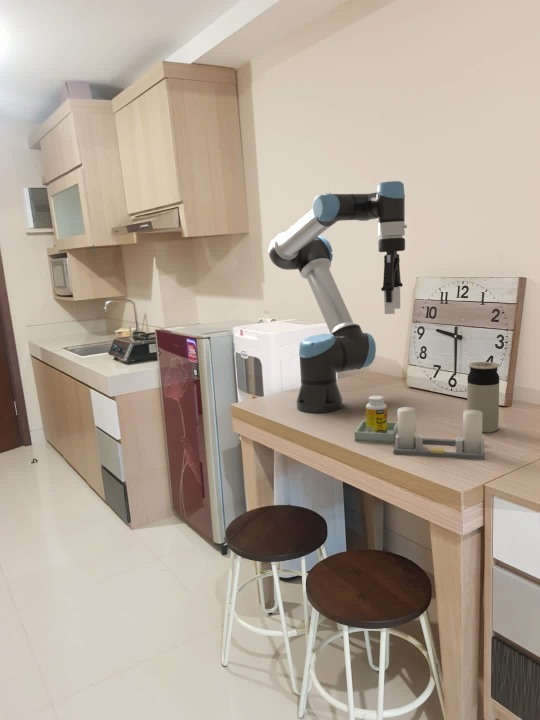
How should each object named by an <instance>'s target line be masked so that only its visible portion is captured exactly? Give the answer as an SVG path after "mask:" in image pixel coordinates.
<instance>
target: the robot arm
mask: <svg viewBox="0 0 540 720" xmlns="http://www.w3.org/2000/svg"><path fill="white" fill-rule="evenodd" d="M405 198H406V195H405V186H404V183H403V182H402V181H399V180H395V181H394V180H393V181H392V180H391V181H383V182H380V183H378V184H377V188H376V192H370V193H330V192H329V193H322V194H318V195H317V196H316V197H314V201H313V202H312V207H311V208H312V209H311V210H310V211H308V213H306V214H305V215H304V216H303V217H302V218H300V219H299V220H298V221H297V222H296V223H294V225H292V226H291V227H290V228H289V229H288V230H286V231H285V232H281V233H278V234H277V236H275V237H274V238H273V239H272V240H271V241H270V244H269V247H268V256H269V259H270V260H271V262H272V263H273V264H274V265H275V266H276V267H278V268H280V269H281V270H288V271H290V270H298V271H299V273H300V276H301V277H302V278H303V279H306V280H307V282H308V284H309V286H310V288H311V291H312V294H313V295H314V297H315V301H316V303H317V305H318V307H319V310H320V312H321V314H322V317H323V319H324V321H325V323H326V327H327V328H328V330H329V333H321V334H316V335H314V334H313V335H311V336H307V337H304V339H302V340H301V341H300V342H299V349H298V350H299V351H298V355H299V366H300V367H299V368H300V371H299V372H300V387H299V391H298V393H297V399H296V408H297V409H298V410H299V411H302V412H306V413H307V412H308V413H329V412H330V413H331V412H334V411H338V410H340V409H341V408H343V404H344V403H343V400H344V399H343V396H342V393H341V391H340V389H339V386H338V382H337V374H339V373H342V372H349V371H355V370H361V369H364V368H367V367H369V366H371V365H372V363H373V362H374V360H375V358H376V352H377V345H376V341H375V339H374V336H373V335H371V334H370V333H368V332H363V330H362V328H361V326H360V325H359V324H357V323H354V321H353V319H352V317H351V314H350V313H349V311H348V308H347V305H346V304H345V301H344V299H343V297H342V294H341V292H340V290H339V288H338V286H337V283H336V281H335V279H334V276H333V274H332V273H331V270H330V268H331V267H332V261H333V257H334V256H333V248H332V245H331V243H330V242H329V240H328V239H327V238H325V237H324V236H322V235H321V234H323V233H324V232H325V231H326V230H327V229H330V227H332V226H333V225H335V224H336V223H338V222H341V221H359V222H360V221H362V222H363V221H366V222H367V221H371V220H375V219H377V237H378V238H379V239H378V241H377V243H378V252H379V253H386V254H385V255H384V257H383V259H384V260H383V262H384V265H383V266H384V267H383V281H382V284H383V285H382V287H381V288H380V290H381V292H383V293H384V294H383V295H384V296H383V297H384V299H383V300H384V303H383V305H384V315H395V313H396V312H395V310H397V309H401V288H402V287H403V285H404V284H403V283H402V281H401V269H400V262H401V261H400V260H401V259H400V254H399V253H398V252H404V251H405V250H406V239H405V233H406V231H405V229H407V228H408V226H407V224H405V223H406V222H405V220H406V218H405V217H406V216H405V215H406V214H405V213H406V212H405V211H406V209H405V204H406V203H405V201H406V200H405Z"/></svg>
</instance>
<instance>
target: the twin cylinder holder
mask: <svg viewBox="0 0 540 720" xmlns="http://www.w3.org/2000/svg"><path fill="white" fill-rule="evenodd" d="M396 410H397V413H396V414H397V422H398V434H396V437H395V441H394V446H395V447H394V448H393V450H392V451H393V455H406V456H421V457H433V458H434V457H435V458H436V457H437V458H449V459H450V458H452V459H464V460H481V461H485V438H483V433H482V412H481V411H479V410H467V409H465V410H463V411H462V437H461V436H460V437H459V436H456V437H455V439H448V438H447V439H446V438H431V437H430V438H429V437H424V435H422V434H416V433H417V430H416V428H417V427H416V419H417V418H416V417H417V416H416V408H414V407H410V406H409V407H408V406H403V407H399V408H397V409H396ZM424 444H430V445H431V444H432V445H434V444H435V445H446V446H447V445H450V446H455V451H446V450H445V448H432V447H431V449H430V450H428V449H427V450H424V449H423V447H424Z"/></svg>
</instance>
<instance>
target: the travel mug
mask: <svg viewBox="0 0 540 720" xmlns="http://www.w3.org/2000/svg"><path fill="white" fill-rule="evenodd" d="M468 367H469V370H470V371H469V373H468V375H467V391H466V392H467V397H466V398H467V401H466V402H467V403H466V405H467V408H466V410H479V411H481V412H482V434H486V433H494V432H496V431H497V430H499V422H500V421H499V411H500V410H499V409H500V375H499V373H498V372H497V371H498V368H499V364H498V363H496V362H491V361H474V362H471V363H468Z"/></svg>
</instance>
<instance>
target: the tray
mask: <svg viewBox="0 0 540 720" xmlns="http://www.w3.org/2000/svg"><path fill="white" fill-rule="evenodd" d="M360 421H361V422H360V423H359V425H358V426H357V428H356V429H355V430H354V441H355V442H364V443H365V442H366V443H378V444H379V443H380V444H395V437H396V434H398V421H395V422H394V421H387V433H376V432H367V427H366V420H360Z"/></svg>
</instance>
